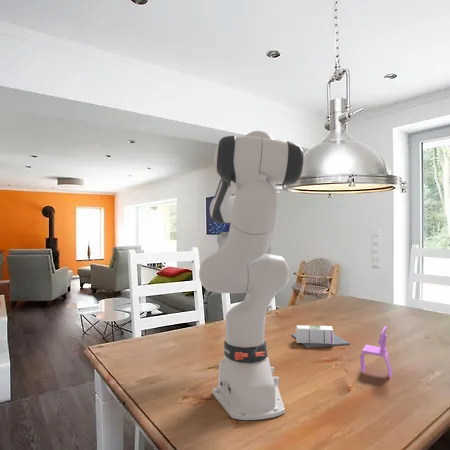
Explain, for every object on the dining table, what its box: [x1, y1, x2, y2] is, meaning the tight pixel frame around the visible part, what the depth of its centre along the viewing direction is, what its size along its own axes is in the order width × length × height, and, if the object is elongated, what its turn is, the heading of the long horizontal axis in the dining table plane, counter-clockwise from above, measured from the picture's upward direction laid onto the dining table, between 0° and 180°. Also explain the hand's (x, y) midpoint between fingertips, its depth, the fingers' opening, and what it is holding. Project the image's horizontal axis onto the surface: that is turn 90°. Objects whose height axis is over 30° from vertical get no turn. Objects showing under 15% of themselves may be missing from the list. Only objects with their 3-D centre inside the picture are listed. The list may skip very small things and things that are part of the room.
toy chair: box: [359, 325, 393, 379], centre depth 113 cm, size 8×9×15 cm
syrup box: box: [295, 324, 335, 344], centre depth 142 cm, size 6×6×14 cm
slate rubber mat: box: [291, 333, 350, 349], centre depth 146 cm, size 16×18×1 cm
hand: (244, 268), depth 134 cm, fingers closed
